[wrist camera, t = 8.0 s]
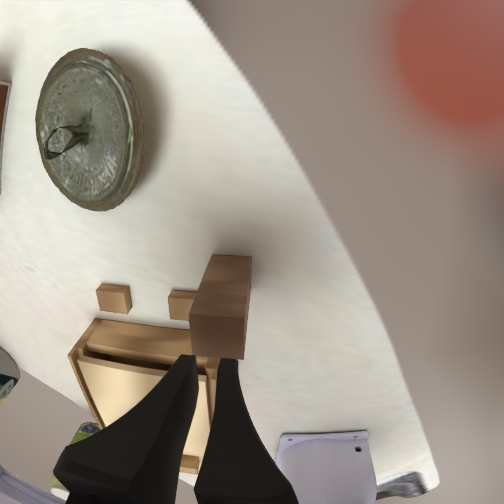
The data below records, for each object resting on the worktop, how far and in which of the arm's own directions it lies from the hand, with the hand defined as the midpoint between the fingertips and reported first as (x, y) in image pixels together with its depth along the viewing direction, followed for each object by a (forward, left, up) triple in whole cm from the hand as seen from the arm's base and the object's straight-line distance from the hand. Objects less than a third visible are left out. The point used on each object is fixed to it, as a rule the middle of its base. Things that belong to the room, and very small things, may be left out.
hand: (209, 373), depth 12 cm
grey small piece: (+9, -10, -10) cm, 17 cm away
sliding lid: (+6, +12, -5) cm, 14 cm away
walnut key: (0, 0, -9) cm, 9 cm away
